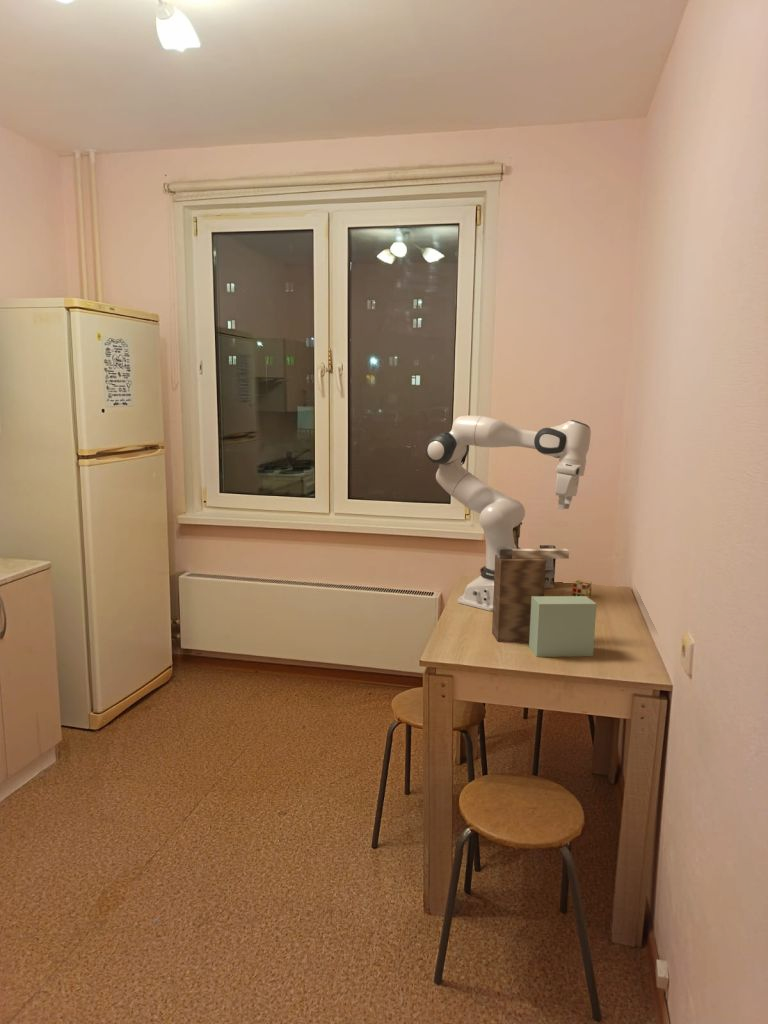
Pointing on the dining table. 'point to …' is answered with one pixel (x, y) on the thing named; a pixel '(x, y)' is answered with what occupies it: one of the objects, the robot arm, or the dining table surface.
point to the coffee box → (549, 568)
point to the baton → (531, 553)
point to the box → (562, 626)
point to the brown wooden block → (515, 596)
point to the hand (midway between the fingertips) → (563, 509)
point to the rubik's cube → (581, 588)
